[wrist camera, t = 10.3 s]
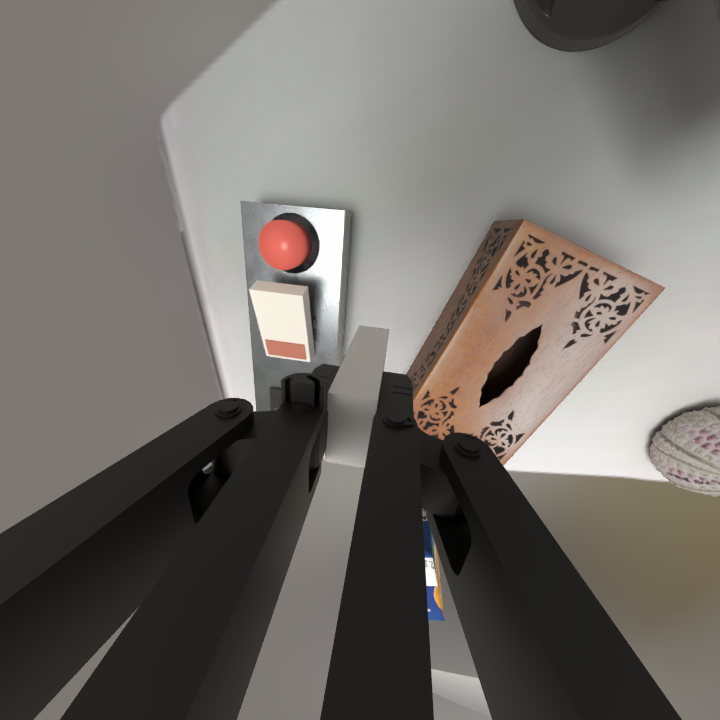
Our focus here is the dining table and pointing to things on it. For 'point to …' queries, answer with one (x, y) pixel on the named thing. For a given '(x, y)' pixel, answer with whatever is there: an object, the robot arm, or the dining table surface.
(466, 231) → the dining table surface
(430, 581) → the beverage box
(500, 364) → the tissue box cover
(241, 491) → the robot arm
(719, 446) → the sea urchin shell
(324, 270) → the console
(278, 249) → the button
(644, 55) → the dining table surface
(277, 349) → the plate
